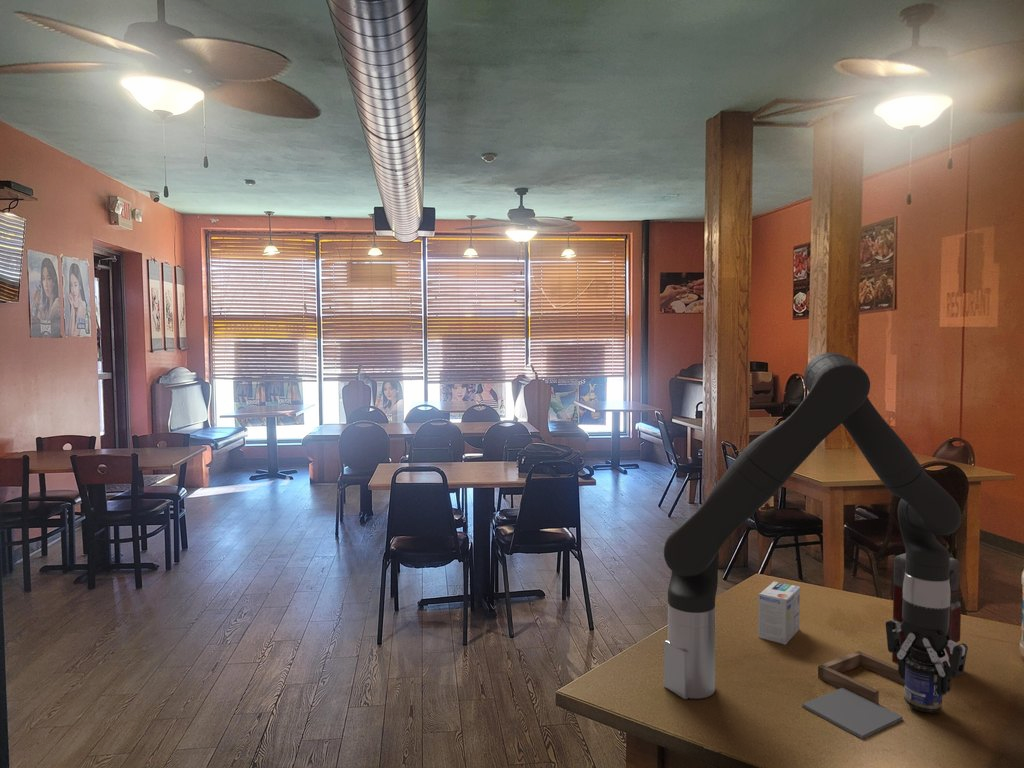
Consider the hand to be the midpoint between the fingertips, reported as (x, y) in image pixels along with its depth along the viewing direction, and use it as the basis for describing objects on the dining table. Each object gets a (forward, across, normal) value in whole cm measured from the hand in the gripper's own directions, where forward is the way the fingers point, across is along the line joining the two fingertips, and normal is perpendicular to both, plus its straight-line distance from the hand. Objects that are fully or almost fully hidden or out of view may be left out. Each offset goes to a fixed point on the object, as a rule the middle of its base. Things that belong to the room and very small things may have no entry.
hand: (923, 685), depth 125 cm
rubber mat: (+5, +6, +13) cm, 15 cm away
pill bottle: (+4, 0, 0) cm, 4 cm away
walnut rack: (+5, +11, 0) cm, 12 cm away
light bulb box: (+5, +36, -4) cm, 36 cm away
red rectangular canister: (+5, +9, -18) cm, 21 cm away
